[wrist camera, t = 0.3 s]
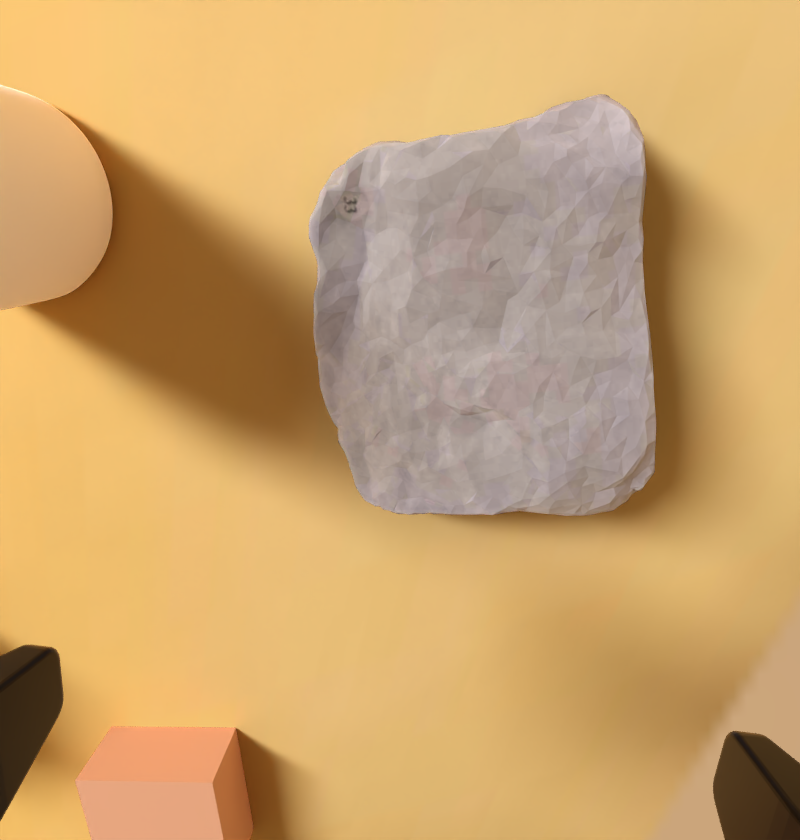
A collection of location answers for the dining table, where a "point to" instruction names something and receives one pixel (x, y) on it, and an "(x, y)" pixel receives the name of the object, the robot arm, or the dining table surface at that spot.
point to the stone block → (490, 316)
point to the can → (47, 202)
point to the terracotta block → (166, 785)
